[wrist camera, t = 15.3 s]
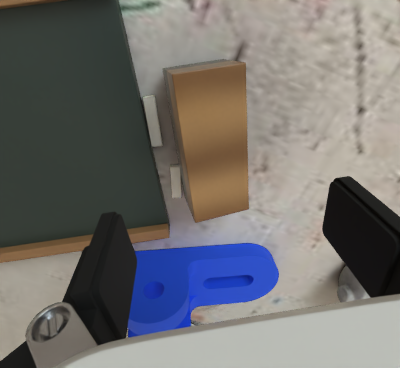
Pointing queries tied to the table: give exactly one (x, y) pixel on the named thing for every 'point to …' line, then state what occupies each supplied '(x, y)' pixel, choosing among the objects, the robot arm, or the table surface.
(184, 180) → the eraser
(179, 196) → the off-white bar
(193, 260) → the bracket
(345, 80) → the table surface
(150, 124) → the chalk stroke
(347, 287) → the dish
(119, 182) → the slate board
